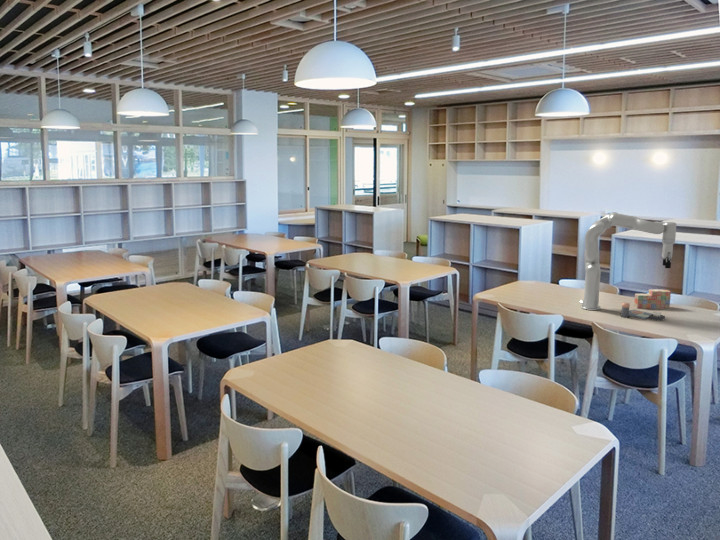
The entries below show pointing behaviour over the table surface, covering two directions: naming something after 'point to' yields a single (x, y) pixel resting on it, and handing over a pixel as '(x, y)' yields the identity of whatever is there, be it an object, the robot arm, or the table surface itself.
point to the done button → (657, 314)
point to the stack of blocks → (653, 299)
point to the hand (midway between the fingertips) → (666, 266)
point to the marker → (625, 310)
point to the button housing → (656, 317)
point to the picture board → (639, 314)
